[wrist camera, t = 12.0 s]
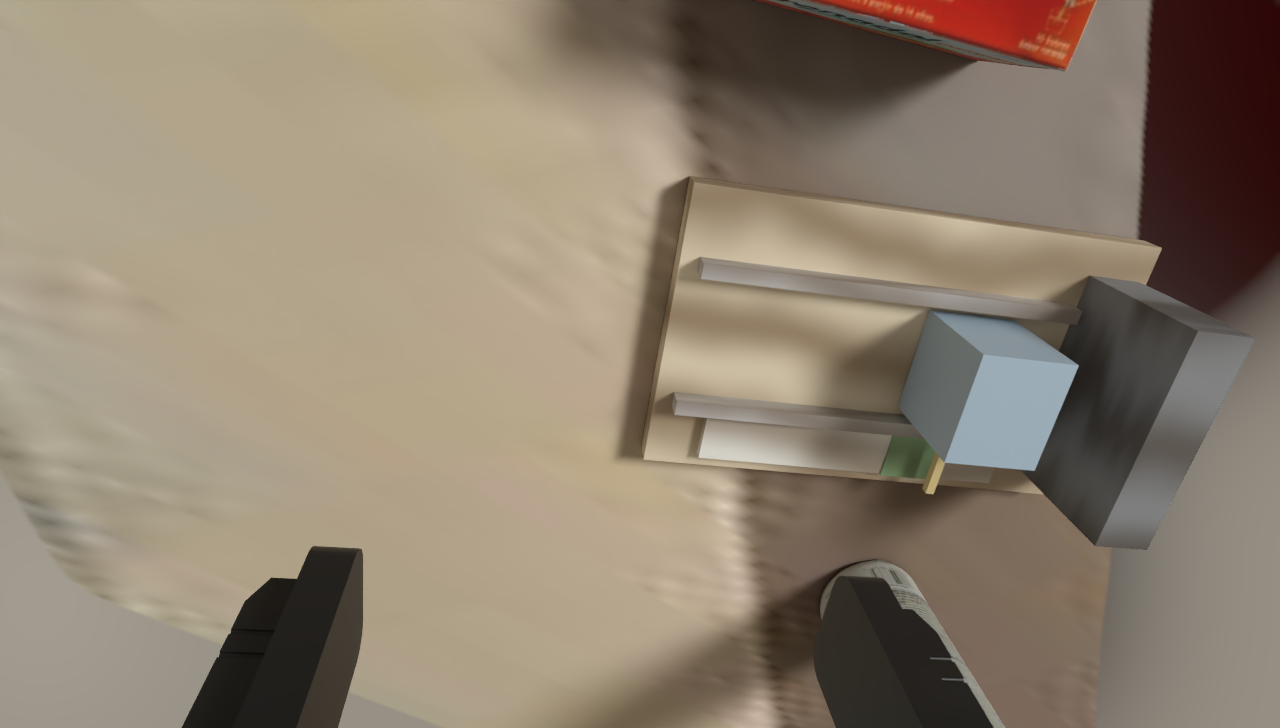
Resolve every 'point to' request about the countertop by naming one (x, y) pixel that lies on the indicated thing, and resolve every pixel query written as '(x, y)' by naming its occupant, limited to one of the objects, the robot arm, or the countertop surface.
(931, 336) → the gauge slider
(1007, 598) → the countertop surface
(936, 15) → the medicine box
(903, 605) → the spray can
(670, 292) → the base
